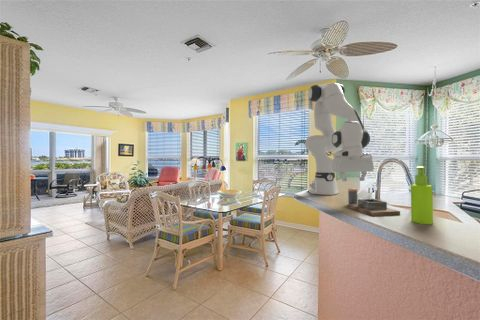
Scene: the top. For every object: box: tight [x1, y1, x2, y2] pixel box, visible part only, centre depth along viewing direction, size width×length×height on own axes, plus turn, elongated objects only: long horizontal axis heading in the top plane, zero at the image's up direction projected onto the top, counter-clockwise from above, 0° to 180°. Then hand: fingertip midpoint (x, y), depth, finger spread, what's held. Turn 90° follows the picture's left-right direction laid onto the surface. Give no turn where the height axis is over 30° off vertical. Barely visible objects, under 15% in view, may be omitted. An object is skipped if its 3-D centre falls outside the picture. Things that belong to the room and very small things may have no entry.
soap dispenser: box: [410, 165, 434, 225], centre depth 76 cm, size 6×7×20 cm
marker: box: [347, 187, 358, 205], centre depth 106 cm, size 4×4×8 cm
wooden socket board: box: [347, 198, 401, 217], centre depth 93 cm, size 16×12×4 cm
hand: (353, 181), depth 106 cm, fingers open, 8 cm apart
